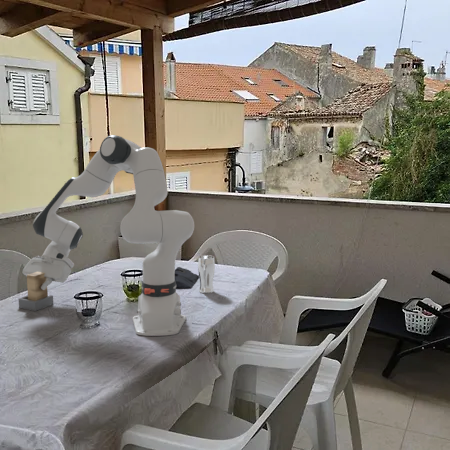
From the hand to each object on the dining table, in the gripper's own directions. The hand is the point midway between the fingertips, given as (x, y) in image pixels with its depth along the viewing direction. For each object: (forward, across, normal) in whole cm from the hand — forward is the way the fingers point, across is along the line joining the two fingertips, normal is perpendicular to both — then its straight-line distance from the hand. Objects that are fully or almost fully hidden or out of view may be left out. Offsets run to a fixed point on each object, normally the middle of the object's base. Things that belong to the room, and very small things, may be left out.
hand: (36, 288), depth 192 cm
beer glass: (-27, +49, +37) cm, 68 cm away
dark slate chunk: (-33, +31, +43) cm, 63 cm away
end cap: (+5, 0, +5) cm, 7 cm away
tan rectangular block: (+4, 0, +5) cm, 6 cm away
